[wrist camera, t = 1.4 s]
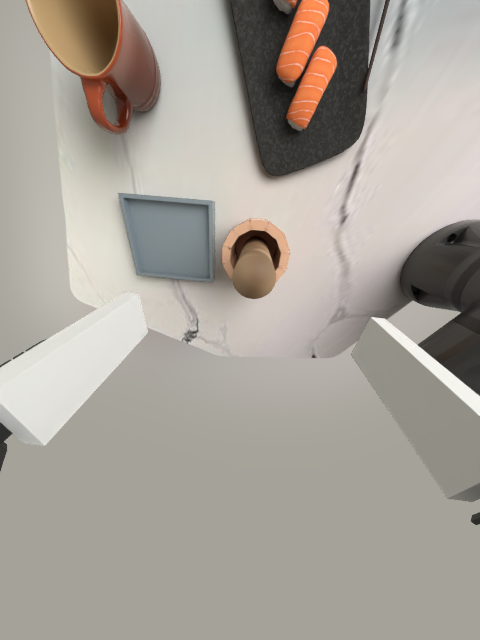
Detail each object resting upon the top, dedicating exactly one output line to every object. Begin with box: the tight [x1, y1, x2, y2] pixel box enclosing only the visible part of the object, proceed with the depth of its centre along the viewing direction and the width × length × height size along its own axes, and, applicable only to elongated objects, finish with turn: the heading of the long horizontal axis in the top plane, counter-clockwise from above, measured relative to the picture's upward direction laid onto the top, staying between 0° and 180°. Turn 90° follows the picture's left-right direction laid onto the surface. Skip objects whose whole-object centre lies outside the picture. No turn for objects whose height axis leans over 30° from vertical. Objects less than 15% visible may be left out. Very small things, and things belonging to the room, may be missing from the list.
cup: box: [222, 218, 290, 283], centre depth 31 cm, size 10×10×9 cm
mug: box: [26, 0, 161, 135], centre depth 21 cm, size 12×9×10 cm
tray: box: [118, 193, 215, 282], centre depth 34 cm, size 16×14×2 cm
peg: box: [232, 236, 276, 299], centre depth 26 cm, size 4×4×18 cm
